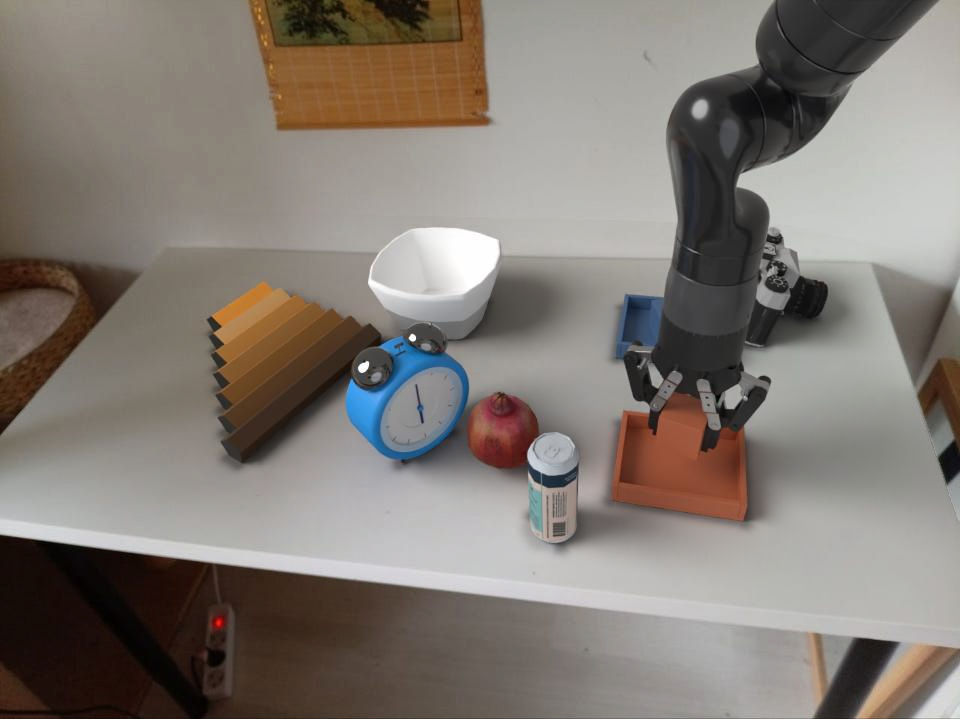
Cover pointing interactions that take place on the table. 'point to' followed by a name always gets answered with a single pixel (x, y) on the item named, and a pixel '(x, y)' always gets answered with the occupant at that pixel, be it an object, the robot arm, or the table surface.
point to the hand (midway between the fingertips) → (682, 437)
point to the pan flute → (277, 361)
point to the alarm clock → (407, 392)
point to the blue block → (655, 317)
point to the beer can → (553, 487)
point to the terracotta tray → (680, 473)
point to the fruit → (502, 431)
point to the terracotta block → (681, 426)
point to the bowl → (437, 278)
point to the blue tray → (635, 323)
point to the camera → (782, 290)
